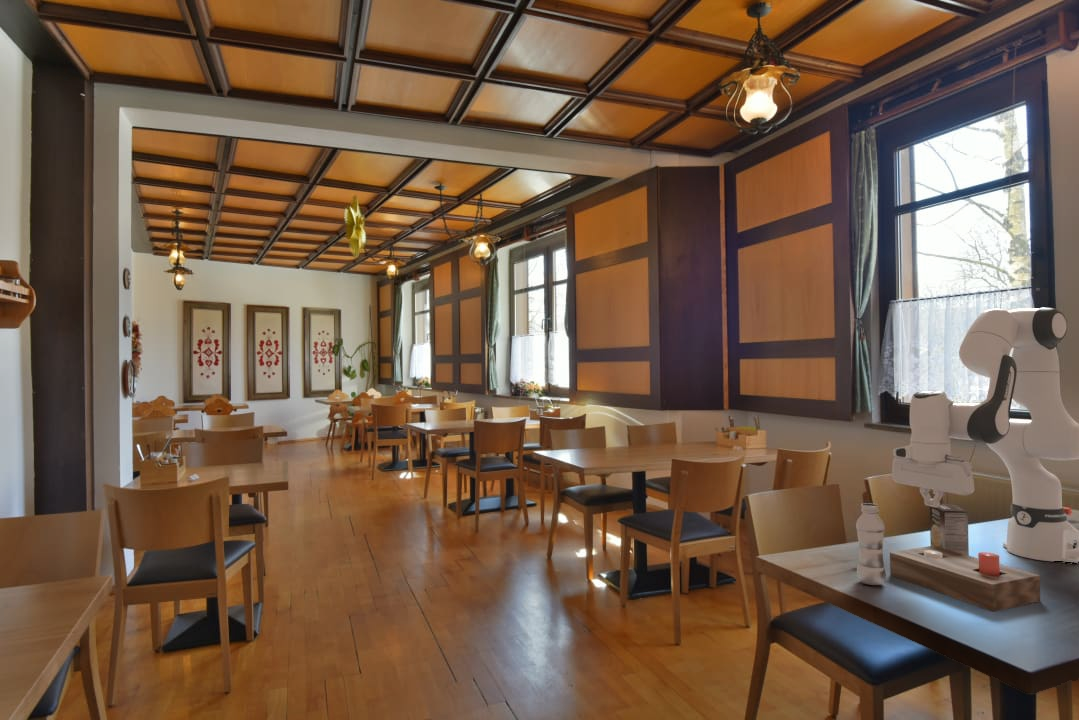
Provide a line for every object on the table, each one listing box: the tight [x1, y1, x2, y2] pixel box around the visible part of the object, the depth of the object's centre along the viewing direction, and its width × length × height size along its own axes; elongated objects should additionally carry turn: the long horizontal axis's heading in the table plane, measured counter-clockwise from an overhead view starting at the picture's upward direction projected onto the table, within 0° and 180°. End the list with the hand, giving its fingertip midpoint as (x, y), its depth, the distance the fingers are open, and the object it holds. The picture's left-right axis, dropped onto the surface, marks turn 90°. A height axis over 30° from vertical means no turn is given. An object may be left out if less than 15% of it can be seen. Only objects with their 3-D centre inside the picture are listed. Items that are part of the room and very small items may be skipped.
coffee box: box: [929, 503, 970, 556], centre depth 167 cm, size 9×6×16 cm
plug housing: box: [889, 545, 1041, 612], centre depth 150 cm, size 16×26×6 cm, turn 20°
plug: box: [924, 550, 942, 559], centre depth 156 cm, size 4×4×6 cm
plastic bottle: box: [855, 502, 887, 586], centre depth 153 cm, size 6×7×20 cm
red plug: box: [977, 551, 1001, 576], centre depth 143 cm, size 4×4×6 cm
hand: (932, 506), depth 157 cm, fingers closed
